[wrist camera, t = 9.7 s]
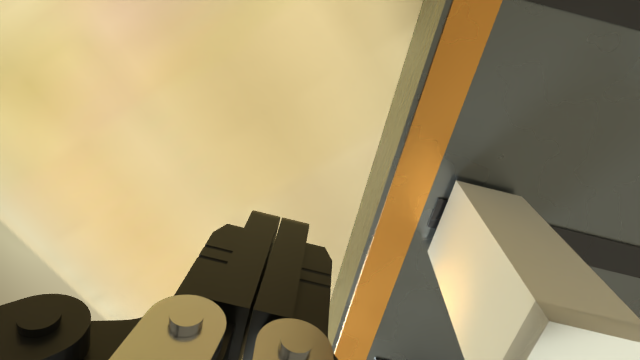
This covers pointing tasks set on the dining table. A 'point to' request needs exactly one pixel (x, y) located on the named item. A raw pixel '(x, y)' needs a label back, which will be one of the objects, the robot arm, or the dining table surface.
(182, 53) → the dining table surface
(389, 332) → the panel
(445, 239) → the handle
